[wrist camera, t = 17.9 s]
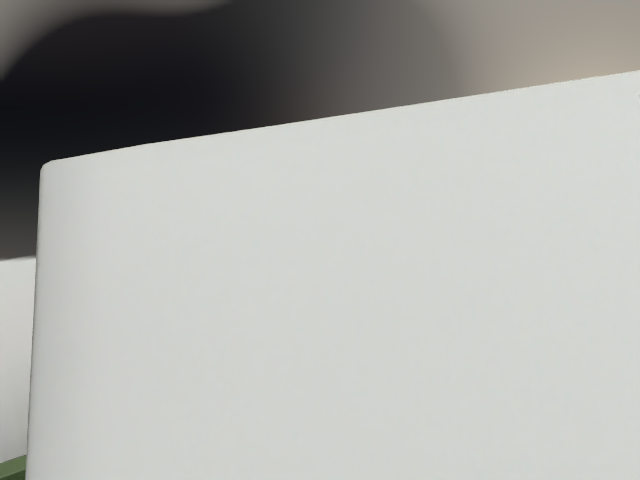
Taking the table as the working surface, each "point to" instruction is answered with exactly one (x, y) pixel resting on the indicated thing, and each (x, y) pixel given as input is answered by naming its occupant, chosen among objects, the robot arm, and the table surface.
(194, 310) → the supplement box
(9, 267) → the table surface
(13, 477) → the dish
